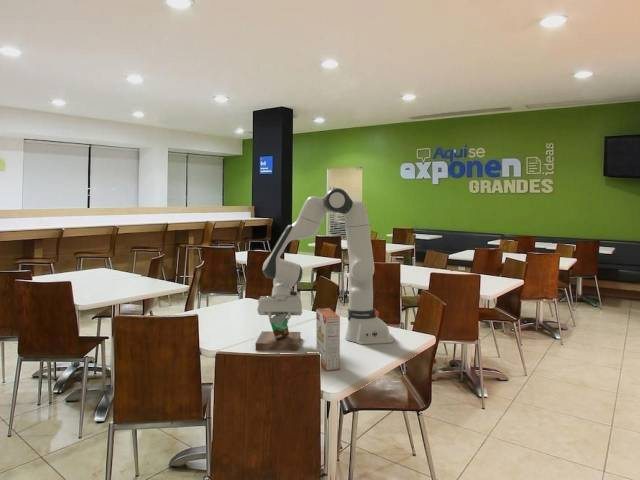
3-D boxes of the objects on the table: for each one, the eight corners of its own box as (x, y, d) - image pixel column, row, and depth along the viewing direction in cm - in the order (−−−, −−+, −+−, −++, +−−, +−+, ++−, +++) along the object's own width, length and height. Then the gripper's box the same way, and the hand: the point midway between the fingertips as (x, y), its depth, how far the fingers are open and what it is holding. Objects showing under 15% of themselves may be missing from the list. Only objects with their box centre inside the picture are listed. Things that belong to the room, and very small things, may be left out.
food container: (288, 337, 200) (282, 315, 200) (275, 341, 201) (268, 318, 201) (294, 330, 212) (288, 309, 212) (281, 333, 213) (275, 312, 213)
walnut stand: (300, 338, 216) (300, 331, 216) (297, 350, 198) (297, 343, 198) (261, 337, 217) (261, 331, 216) (255, 350, 199) (255, 343, 198)
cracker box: (315, 359, 188) (315, 308, 186) (329, 357, 189) (330, 307, 188) (324, 371, 174) (325, 316, 173) (340, 370, 176) (340, 315, 174)
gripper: (258, 292, 213) (254, 318, 204) (302, 292, 212) (301, 319, 203) (259, 299, 218) (256, 326, 209) (303, 300, 217) (301, 326, 208)
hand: (278, 322), depth 206 cm, fingers closed on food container, 5 cm apart
